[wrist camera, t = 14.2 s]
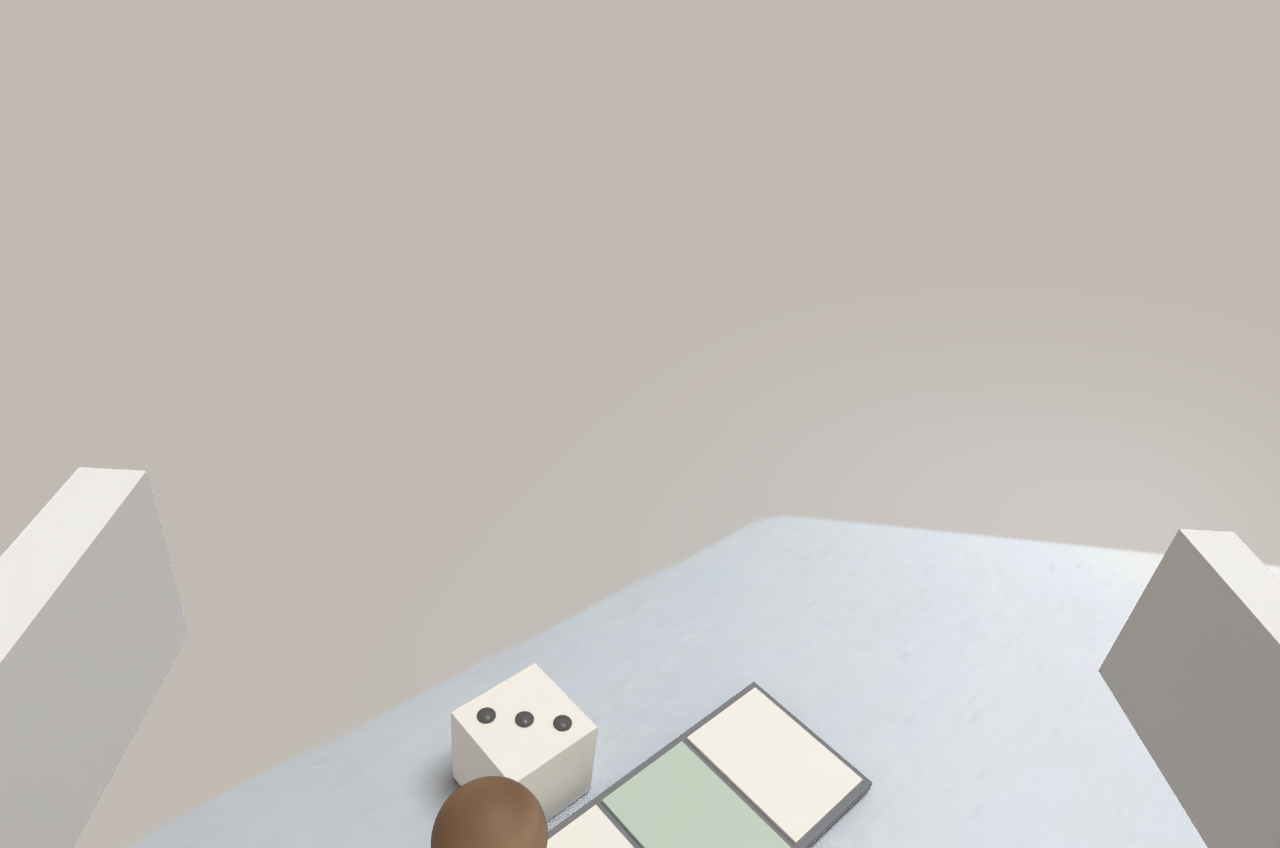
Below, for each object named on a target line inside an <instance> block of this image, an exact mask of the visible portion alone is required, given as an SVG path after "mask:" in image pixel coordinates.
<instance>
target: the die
mask: <svg viewBox="0 0 1280 848" xmlns="http://www.w3.org/2000/svg"><path fill="white" fill-rule="evenodd" d="M451 726H452V765H453V777H454V779H455V780H456V781H457V782H458V784H459V785H460V786H463V785H464V784H466V783H468V782H470V781H472V780H474V779H477V778H481V777H486V776H502V777H507V778H510V779H513V780H515V781H517V782H519V783H521V784H522V785H524V786H525V787H526V788H528V789H529V790H530V791H531V792H532V793H533V795H534V796H535V797H536V798H537V800H538V801H539V803H540V805H541V807H542V809H543V811H544V814H545V818H546V822H547V821H549V820H550V819H552V818H553V817H554V816H556V815H557V814H558V813H560V812H561V811H562V810H564V809H565V808H566V807H568V806H569V805H570V804H572V803H573V802H575V801H576V800H577V799H579V798H580V797H581V796H583V795H584V794H585V793H587V792H588V791H589V790H590V787H591V779H592V770H593V762H594V753H595V745H596V736H597V728H598V727H597V726H596V725H595V724H594V723H593V722H592V721H591V720H590V719H589V718H588V717H587V716H586V715H585V714H584V713H583V712H582V711H581V710H580V709H579V708H578V707H577V706H576V705H575V703H574V702H573V701H572V700H571V699H570V698H569V697H568V696H567V695H566V694H565V693H564V692H563V691H562V690H561V689H560V688H559V687H558V686H557V685H556V684H555V683H554V682H553V681H552V680H551V679H550V678H549V677H548V676H547V675H546V674H545V673H544V672H543V671H542V670H541V669H540V668H539V667H538V666H537V665H536V664H535V663H534V664H533V665H531V666H529V667H527V668H526V669H524V670H522V671H521V672H519V673H517V674H516V675H514V676H512V677H510V678H509V679H507V680H505V681H504V682H502V683H500V684H499V685H497V686H495V687H494V688H492V689H490V690H488V691H487V692H485V693H483V694H482V695H480V696H478V697H477V698H475V699H473V700H471V701H470V702H468V703H466V704H465V705H463V706H461V707H460V708H458V709H456V710H454V711H453V712H451Z"/></svg>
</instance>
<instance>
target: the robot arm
mask: <svg viewBox="0 0 1280 848" xmlns="http://www.w3.org/2000/svg"><path fill="white" fill-rule="evenodd" d="M188 635H189V630H188V627H187V623H186V619H185V615H184V611H183V608H182V604H181V601H180V596H179V592H178V589H177V585H176V581H175V577H174V574H173V570H172V566H171V562H170V558H169V555H168V551H167V547H166V543H165V540H164V536H163V532H162V528H161V525H160V521H159V517H158V514H157V509H156V506H155V502H154V498H153V494H152V491H151V487H150V483H149V479H148V475H147V472H146V471H137V470H119V469H101V468H84V467H83V468H82V467H79V468H78V469H77V470H76V472H75V473H74V474H73V475H72V476H71V477H70V478H69V480H68V481H67V482H66V483H65V484H64V485H63V486H62V487H61V489H60V490H59V491H58V492H57V493H56V494H55V495H54V497H53V498H52V499H51V500H50V501H49V502H48V503H47V505H46V506H45V507H44V508H43V509H42V510H41V511H40V512H39V514H38V515H37V516H36V517H35V518H34V519H33V521H32V522H31V523H30V524H29V525H28V526H27V527H26V528H25V530H24V531H23V532H22V533H21V534H20V535H19V536H18V538H17V539H16V540H15V541H14V542H13V543H12V544H11V546H10V547H9V548H8V549H7V550H6V551H5V552H4V554H3V555H2V556H1V557H0V848H73V847H74V845H75V843H76V841H77V839H78V837H79V836H80V834H81V832H82V830H83V828H84V826H85V824H86V823H87V821H88V819H89V817H90V815H91V813H92V812H93V810H94V808H95V806H96V804H97V802H98V800H99V798H100V797H101V795H102V793H103V791H104V789H105V788H106V786H107V784H108V782H109V780H110V778H111V777H112V775H113V773H114V771H115V769H116V767H117V765H118V764H119V762H120V760H121V758H122V756H123V754H124V753H125V750H126V749H127V747H128V745H129V743H130V742H131V740H132V738H133V736H134V734H135V732H136V730H137V729H138V727H139V725H140V723H141V721H142V719H143V718H144V716H145V714H146V712H147V710H148V708H149V707H150V705H151V703H152V701H153V699H154V697H155V695H156V694H157V692H158V690H159V688H160V686H161V684H162V683H163V681H164V679H165V677H166V675H167V673H168V672H169V670H170V668H171V666H172V664H173V662H174V660H175V659H176V657H177V655H178V653H179V651H180V650H181V648H182V646H183V644H184V642H185V640H186V638H187V637H188ZM1099 672H1100V674H1101V675H1102V677H1103V679H1104V680H1105V682H1106V684H1107V685H1108V687H1109V688H1110V690H1111V692H1112V693H1113V695H1114V696H1115V698H1116V700H1117V701H1118V703H1119V705H1120V706H1121V708H1122V709H1123V711H1124V713H1125V714H1126V716H1127V718H1128V719H1129V721H1130V722H1131V724H1132V726H1133V727H1134V729H1135V730H1136V732H1137V734H1138V735H1139V737H1140V739H1141V740H1142V742H1143V743H1144V745H1145V747H1146V748H1147V750H1148V752H1149V753H1150V755H1151V756H1152V758H1153V760H1154V761H1155V763H1156V764H1157V766H1158V768H1159V769H1160V771H1161V773H1162V774H1163V776H1164V777H1165V779H1166V781H1167V782H1168V784H1169V786H1170V787H1171V789H1172V790H1173V792H1174V794H1175V795H1176V797H1177V798H1178V800H1179V802H1180V803H1181V805H1182V807H1183V808H1184V810H1185V811H1186V813H1187V815H1188V816H1189V818H1190V819H1191V821H1192V823H1193V824H1194V826H1195V828H1196V829H1197V831H1198V832H1199V834H1200V836H1201V837H1202V839H1203V841H1204V842H1205V844H1206V845H1207V847H1208V848H1280V581H1279V579H1278V578H1277V577H1276V576H1275V575H1274V574H1273V573H1272V572H1271V571H1270V570H1269V569H1268V568H1267V567H1266V566H1265V565H1264V564H1263V563H1262V562H1261V561H1260V559H1259V558H1258V557H1257V556H1255V554H1254V553H1253V552H1252V551H1251V550H1250V549H1249V548H1248V547H1247V546H1246V545H1245V544H1244V543H1243V542H1242V541H1241V540H1240V538H1239V537H1237V535H1236V534H1235V533H1234V532H1223V531H1204V530H1187V529H1179V530H1178V532H1177V534H1176V536H1175V538H1174V539H1173V541H1172V543H1171V545H1170V546H1169V548H1168V550H1167V552H1166V553H1165V555H1164V557H1163V559H1162V560H1161V562H1160V564H1159V566H1158V567H1157V569H1156V571H1155V573H1154V574H1153V576H1152V578H1151V580H1150V581H1149V583H1148V585H1147V587H1146V588H1145V590H1144V592H1143V594H1142V595H1141V597H1140V599H1139V601H1138V602H1137V604H1136V606H1135V608H1134V609H1133V611H1132V613H1131V615H1130V616H1129V618H1128V620H1127V622H1126V623H1125V625H1124V627H1123V629H1122V630H1121V632H1120V634H1119V636H1118V637H1117V639H1116V641H1115V643H1114V645H1113V646H1112V648H1111V650H1110V652H1109V653H1108V655H1107V657H1106V659H1105V660H1104V662H1103V664H1102V666H1101V667H1100V669H1099Z"/></svg>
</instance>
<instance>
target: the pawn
mask: <svg viewBox="0 0 1280 848" xmlns="http://www.w3.org/2000/svg"><path fill="white" fill-rule="evenodd" d="M547 842H548V828H547V822H546V818H545V814H544V811H543V809H542V807H541V805H540V803H539V801H538V800H537V798H536V797H535V796H534V795H533V793H532V792H531V791H530V790H529V789H528V788H526V787H525V786H524V785H522V784H521V783H519V782H517V781H515V780H513V779H510V778H507V777H502V776H486V777H481V778H477V779H474V780H472V781H470V782H468V783H466V784H464V785H463V786H461V787H460V788H458V789H457V790H456V791H455V792H454V793H453V794H452V795H451V796H450V797H449V798H448V799H447V800H446V802H445V803H444V804H443V806H442V807H441V809H440V811H439V813H438V815H437V817H436V820H435V823H434V826H433V830H432V836H431V848H547Z"/></svg>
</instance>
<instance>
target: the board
mask: <svg viewBox="0 0 1280 848" xmlns="http://www.w3.org/2000/svg"><path fill="white" fill-rule="evenodd" d="M871 785H872V782H871V781H870V780H868V779H867V778H866V777H865V776H864V775H863V774H861V773H860V772H859V771H858V770H857V769H856V768H854V767H853V766H852V765H851V764H850V763H849V762H847V761H846V760H845V759H844V758H843V757H842V756H840V755H839V754H838V753H837V752H836V751H834V750H833V749H832V748H831V747H830V746H829V745H827V744H826V743H825V742H824V741H823V740H822V739H820V738H819V737H818V736H817V735H816V734H815V733H813V732H812V731H811V730H810V729H809V728H808V727H806V726H805V725H804V724H803V723H802V722H800V721H799V720H798V719H797V718H796V717H795V716H793V715H792V714H791V713H790V712H789V711H788V710H786V709H785V708H784V707H783V706H782V705H781V704H779V703H778V702H777V701H776V700H775V699H774V698H772V697H771V696H770V695H769V694H768V693H767V692H765V691H764V690H763V689H762V688H761V687H759V686H758V685H757V684H756V683H755V682H753V683H752V684H750V685H749V686H747V687H746V688H745V689H743V690H742V691H741V692H739V693H738V694H737V695H735V696H734V697H732V698H731V699H730V700H728V701H727V702H726V703H724V704H723V705H721V706H720V707H719V708H717V709H716V710H715V711H713V712H712V713H710V714H709V715H708V716H706V717H705V718H704V719H702V720H701V721H700V722H698V723H697V724H695V725H694V726H693V727H691V728H690V729H689V730H687V731H686V732H684V733H683V734H682V735H680V736H679V737H678V738H676V739H675V740H673V741H672V742H671V743H669V744H668V745H667V746H665V747H664V748H663V749H661V750H660V751H658V752H657V753H656V754H654V755H653V756H652V757H650V758H649V759H647V760H646V761H645V762H643V763H642V764H641V765H639V766H638V767H636V768H635V769H634V770H632V771H631V772H630V773H628V774H627V775H625V776H624V777H623V778H621V779H620V780H619V781H617V782H616V783H615V784H613V785H612V786H610V787H609V788H608V789H606V790H605V791H604V792H602V793H601V794H599V795H598V796H597V797H595V798H594V799H593V800H591V801H590V802H588V803H587V804H586V805H584V806H583V807H582V808H580V809H579V810H578V811H576V812H575V813H573V814H572V815H571V816H569V817H568V818H567V819H565V820H564V821H562V822H561V823H560V824H558V825H557V826H556V827H554V828H553V829H551V830H550V831H549V832H548V842H547V848H810V847H811V846H812V845H813V844H814V843H815V842H816V841H817V840H818V839H819V838H820V837H821V836H822V835H823V834H824V833H825V832H826V831H827V830H828V829H829V828H830V827H831V826H833V825H834V824H835V823H836V822H837V821H838V820H839V819H840V818H841V817H842V816H843V815H844V814H845V813H846V812H847V811H848V810H849V809H850V808H851V807H852V806H853V805H854V804H855V803H856V802H857V801H858V800H859V799H860V798H861V797H863V796H864V795H865V794H866V793H867V792H868V791H869V790H870V787H871Z"/></svg>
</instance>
